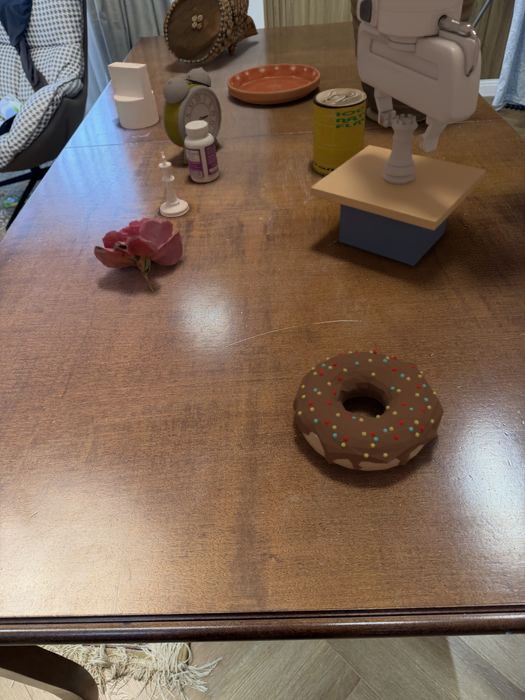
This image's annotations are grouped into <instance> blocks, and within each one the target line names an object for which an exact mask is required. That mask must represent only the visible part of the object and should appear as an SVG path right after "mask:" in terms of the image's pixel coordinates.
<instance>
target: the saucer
mask: <svg viewBox="0 0 525 700" xmlns="http://www.w3.org/2000/svg"><path fill="white" fill-rule="evenodd" d="M226 83H227V91H228V93H229V94H230V95H231V96H232V97H234V98H236V99H238V100H240V101H241V102H244V103H248V104H254V105H277V104H285V103H288V102H289V103H290V102H294V101H297V100H299V99H302V98H304V97H306V96H308V95H309V94H310V93H312V92H313V91H314V90H316V89H317V88H318V87H319V86H320V84H321V72H320V71H319V70H318V69H317V68H315V67H313V66H309V65H305V64H300V63H299V64H298V63H277V64H276V63H274V64H266V65H260V66H254V67H251V68H250V67H249V68H247V69H244V70H241V71H239V72H237V73H235V74H233V75H231V76H230V77H229V78H228V80H227V82H226Z"/></svg>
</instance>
